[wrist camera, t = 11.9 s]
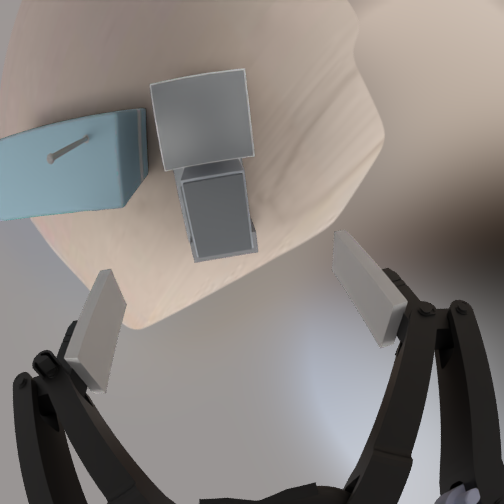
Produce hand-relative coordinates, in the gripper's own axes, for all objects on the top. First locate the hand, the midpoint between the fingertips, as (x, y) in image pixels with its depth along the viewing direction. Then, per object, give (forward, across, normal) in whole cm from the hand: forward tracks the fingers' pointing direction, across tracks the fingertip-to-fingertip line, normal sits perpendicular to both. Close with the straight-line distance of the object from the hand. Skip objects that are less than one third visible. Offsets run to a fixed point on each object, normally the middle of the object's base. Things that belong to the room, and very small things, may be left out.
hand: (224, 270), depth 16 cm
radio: (+20, -15, +6) cm, 26 cm away
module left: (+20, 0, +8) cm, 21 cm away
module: (+16, 0, 0) cm, 16 cm away
